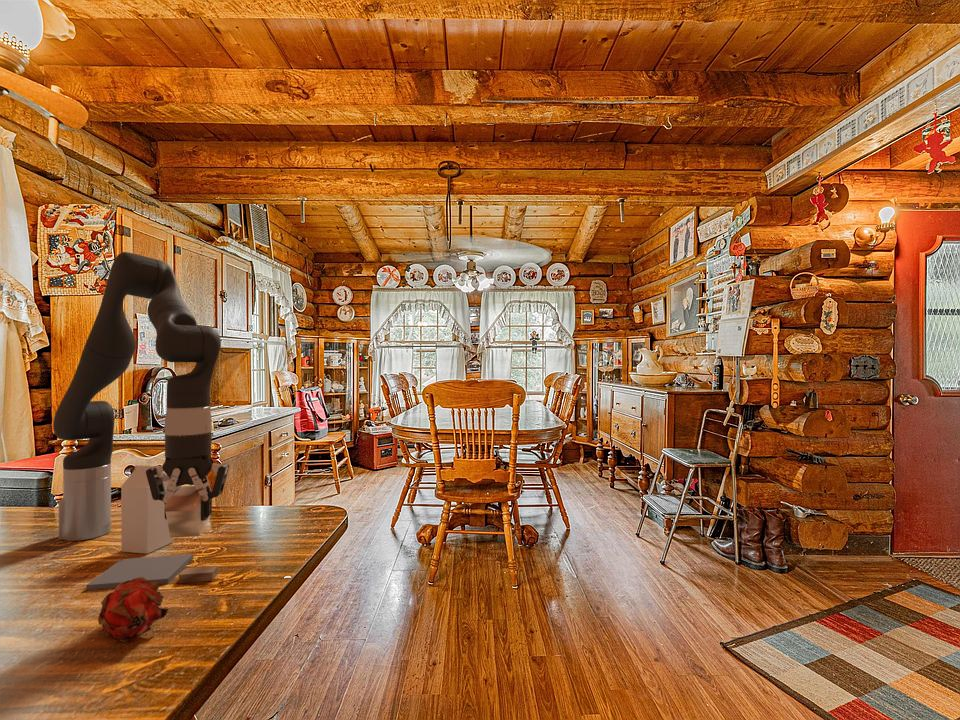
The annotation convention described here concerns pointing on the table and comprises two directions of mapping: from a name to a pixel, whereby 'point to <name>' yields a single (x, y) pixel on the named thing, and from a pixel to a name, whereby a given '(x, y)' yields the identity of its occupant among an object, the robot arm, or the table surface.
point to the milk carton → (142, 514)
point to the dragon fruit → (131, 608)
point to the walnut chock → (198, 574)
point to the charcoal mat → (141, 570)
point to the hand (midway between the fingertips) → (188, 519)
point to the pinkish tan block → (185, 513)
